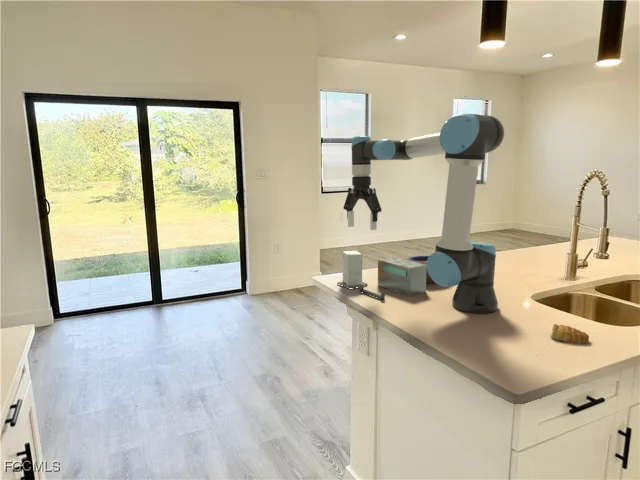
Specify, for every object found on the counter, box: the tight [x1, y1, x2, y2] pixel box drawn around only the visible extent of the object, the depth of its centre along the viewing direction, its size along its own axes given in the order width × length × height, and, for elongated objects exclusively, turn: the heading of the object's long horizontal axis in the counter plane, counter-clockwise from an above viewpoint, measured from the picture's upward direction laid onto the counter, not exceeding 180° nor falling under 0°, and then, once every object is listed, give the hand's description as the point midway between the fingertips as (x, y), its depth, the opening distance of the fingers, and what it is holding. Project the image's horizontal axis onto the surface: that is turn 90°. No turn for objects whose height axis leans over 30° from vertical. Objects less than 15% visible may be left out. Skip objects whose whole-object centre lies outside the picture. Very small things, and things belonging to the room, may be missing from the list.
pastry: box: [550, 323, 590, 344], centre depth 121 cm, size 9×7×4 cm
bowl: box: [405, 255, 435, 283], centre depth 184 cm, size 18×18×10 cm
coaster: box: [336, 280, 368, 289], centre depth 177 cm, size 9×9×1 cm
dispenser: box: [359, 256, 427, 301], centre depth 167 cm, size 18×21×11 cm
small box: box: [342, 250, 363, 286], centre depth 176 cm, size 8×6×13 cm
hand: (361, 228), depth 173 cm, fingers open, 13 cm apart
